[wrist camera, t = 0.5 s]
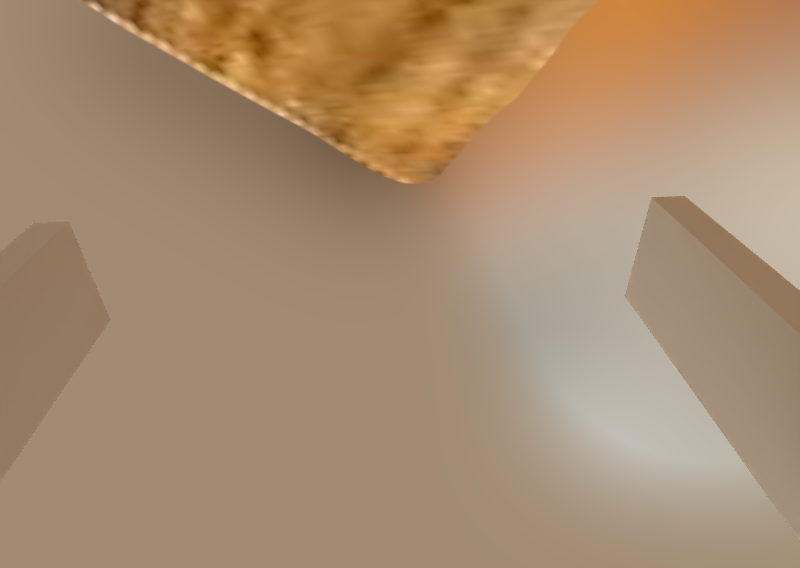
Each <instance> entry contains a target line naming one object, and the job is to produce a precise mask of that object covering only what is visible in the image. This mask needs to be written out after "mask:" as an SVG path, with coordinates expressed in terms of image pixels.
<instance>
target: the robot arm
mask: <svg viewBox="0 0 800 568" xmlns="http://www.w3.org/2000/svg"><path fill="white" fill-rule="evenodd" d="M625 296H626V298H627V299H628V301H629V302H630V303H631V305H632V306H633V308H634V309H635V310H636V312H637V313H638V314H639V316H640V317H641V319H642V320H643V322H644V323H645V325H646V326H647V327H648V329H649V330H650V332H651V333H652V334H653V336H654V337H655V339H656V340H657V341H658V343H659V344H660V346H661V347H662V348H663V350H664V351H665V353H666V354H667V355H668V357H669V358H670V360H671V361H672V362H673V364H674V365H675V367H676V368H677V369H678V371H679V372H680V374H681V375H682V376H683V378H684V379H685V381H686V382H687V383H688V385H689V386H690V388H691V389H692V391H693V392H694V393H695V395H696V396H697V398H698V399H699V400H700V402H701V403H702V405H703V406H704V407H705V409H706V410H707V411H708V413H709V414H710V416H711V417H712V418H713V420H714V421H715V423H716V424H717V426H718V427H719V428H720V430H721V431H722V433H723V434H724V435H725V437H726V438H727V439H728V441H729V442H730V444H731V445H732V447H733V448H734V449H735V451H736V452H737V454H738V455H739V456H740V458H741V459H742V461H743V462H744V463H745V465H746V466H747V468H748V469H749V471H750V472H751V473H752V475H753V476H754V478H755V479H756V480H757V482H758V483H759V484H760V486H761V487H762V489H763V490H764V491H765V493H766V494H767V496H768V497H769V498H770V500H771V501H772V503H773V504H774V506H775V507H776V508H777V510H778V511H779V512H780V514H781V515H782V517H783V518H784V520H785V521H786V522H787V524H788V525H789V527H790V528H791V529H792V531H793V532H794V534H795V535H796V536H797V538H798V539H799V541H800V290H798V289H797V288H796V287H795V286H793V285H792V284H791V283H790V282H788V281H787V280H786V279H785V278H784V277H782V276H781V275H780V274H779V273H778V272H776V271H775V270H774V269H773V268H772V267H770V266H769V265H768V264H767V263H765V262H764V261H763V260H762V259H761V258H759V257H758V256H757V255H756V254H754V253H753V252H752V251H751V250H750V249H748V248H747V247H746V246H745V245H743V244H742V243H741V242H740V241H739V240H737V239H736V238H735V237H734V236H733V235H731V234H730V233H729V232H728V231H726V230H725V229H724V228H723V227H722V226H720V225H719V224H718V223H717V222H715V221H714V220H713V219H712V218H711V217H709V216H708V215H707V214H706V213H704V212H703V211H702V210H701V209H700V208H698V207H697V206H696V205H695V204H693V203H692V202H691V201H690V200H689V199H687V198H686V197H685V196H675V197H653V198H651V202H650V206H649V209H648V213H647V217H646V220H645V224H644V228H643V231H642V235H641V239H640V243H639V246H638V250H637V254H636V258H635V261H634V265H633V269H632V272H631V276H630V280H629V283H628V287H627V291H626V295H625ZM109 321H110V318H109V315H108V313H107V310H106V308H105V306H104V303H103V301H102V299H101V296H100V294H99V292H98V289H97V287H96V284H95V282H94V280H93V277H92V275H91V273H90V270H89V268H88V266H87V263H86V261H85V259H84V256H83V254H82V251H81V249H80V247H79V244H78V242H77V239H76V238H75V235H74V232H73V230H72V228H71V225H70V223H69V222H48V223H33V224H32V225H31V226H30V227H29V228H27V229H26V230H25V231H24V232H23V233H22V234H20V235H19V236H18V237H17V238H16V239H14V240H13V241H12V242H11V243H10V244H9V245H7V246H6V247H5V248H4V249H3V250H1V251H0V482H1V480H2V479H3V477H4V476H5V474H6V473H7V471H8V470H9V468H10V467H11V465H12V464H13V462H14V461H15V460H16V458H17V457H18V455H19V454H20V452H21V451H22V449H23V448H24V446H25V445H26V443H27V442H28V440H29V439H30V438H31V436H32V435H33V433H34V432H35V430H36V429H37V427H38V426H39V424H40V423H41V421H42V420H43V418H44V417H45V415H46V414H47V412H48V411H49V410H50V408H51V407H52V405H53V404H54V402H55V401H56V399H57V398H58V396H59V395H60V393H61V392H62V390H63V389H64V387H65V386H66V384H67V383H68V382H69V380H70V379H71V377H72V376H73V374H74V373H75V371H76V370H77V368H78V367H79V365H80V364H81V362H82V361H83V360H84V358H85V356H86V355H87V354H88V352H89V351H90V349H91V348H92V346H93V345H94V343H95V342H96V340H97V339H98V338H99V336H100V335H101V333H102V332H103V330H104V329H105V327H106V326H107V324H108V323H109Z"/></svg>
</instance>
